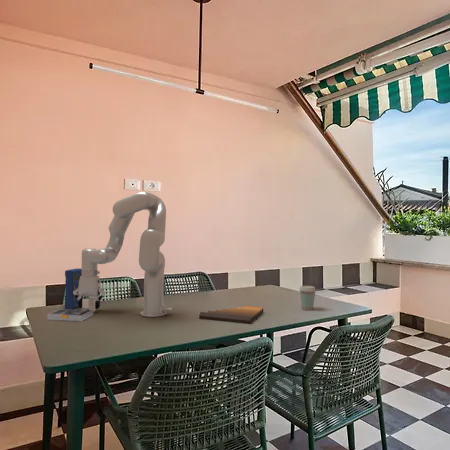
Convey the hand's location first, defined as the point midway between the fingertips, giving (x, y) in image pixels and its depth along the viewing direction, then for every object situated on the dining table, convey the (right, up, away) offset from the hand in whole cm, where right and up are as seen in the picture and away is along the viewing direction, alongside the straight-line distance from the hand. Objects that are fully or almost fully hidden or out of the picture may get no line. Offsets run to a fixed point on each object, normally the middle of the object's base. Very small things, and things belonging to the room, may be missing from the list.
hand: (89, 308), depth 190 cm
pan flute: (+72, -4, -3) cm, 72 cm away
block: (0, -2, 0) cm, 2 cm away
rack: (-4, -2, -12) cm, 13 cm away
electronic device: (-12, -2, +10) cm, 16 cm away
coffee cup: (+112, -4, +13) cm, 113 cm away
